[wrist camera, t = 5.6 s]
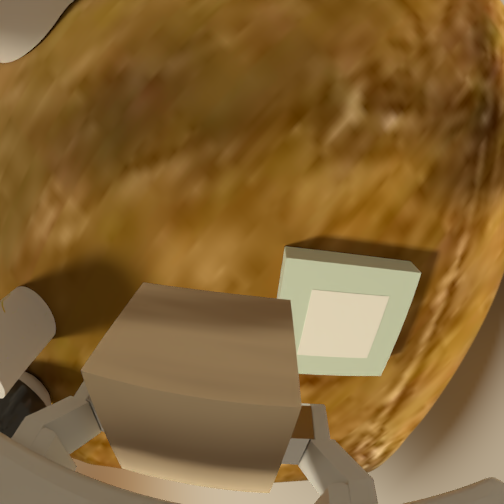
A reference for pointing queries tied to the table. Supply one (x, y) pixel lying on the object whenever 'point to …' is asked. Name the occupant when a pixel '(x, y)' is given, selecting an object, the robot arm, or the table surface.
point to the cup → (22, 333)
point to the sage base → (345, 309)
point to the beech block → (198, 386)
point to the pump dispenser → (22, 403)
